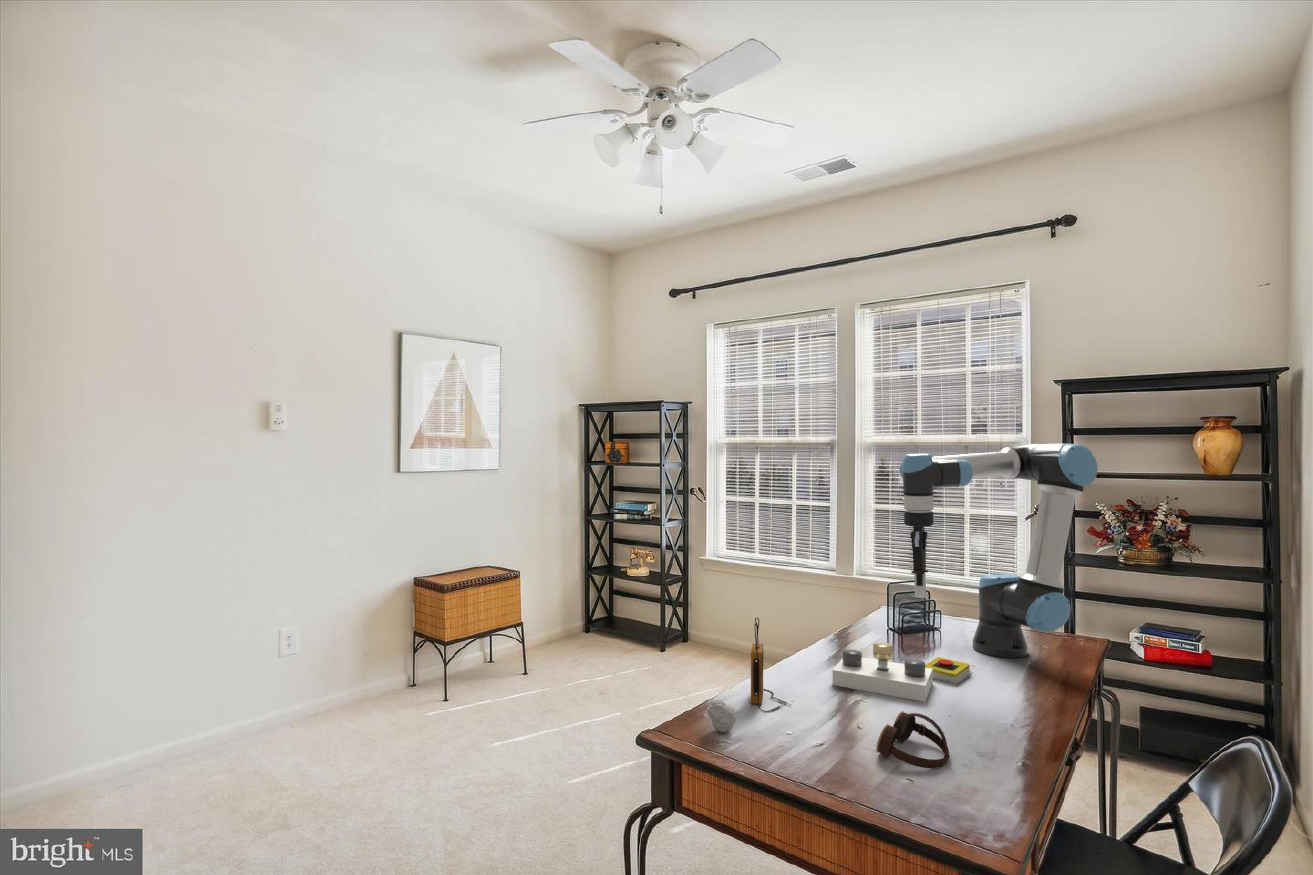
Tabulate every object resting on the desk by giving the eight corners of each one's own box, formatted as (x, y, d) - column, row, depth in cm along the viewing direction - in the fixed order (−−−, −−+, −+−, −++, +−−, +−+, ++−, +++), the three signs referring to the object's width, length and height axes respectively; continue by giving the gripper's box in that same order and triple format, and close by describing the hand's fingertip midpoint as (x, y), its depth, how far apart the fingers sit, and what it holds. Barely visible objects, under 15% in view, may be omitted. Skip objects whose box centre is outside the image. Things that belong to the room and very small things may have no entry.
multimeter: (792, 714, 161) (792, 630, 161) (749, 711, 163) (749, 627, 163) (792, 691, 176) (792, 613, 176) (753, 688, 178) (753, 611, 178)
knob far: (863, 676, 186) (863, 651, 186) (859, 682, 181) (859, 656, 181) (844, 673, 188) (845, 648, 188) (840, 679, 184) (840, 653, 184)
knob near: (926, 687, 178) (926, 661, 178) (923, 694, 174) (923, 666, 174) (906, 684, 180) (906, 657, 180) (902, 690, 176) (903, 663, 176)
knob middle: (894, 670, 182) (894, 644, 182) (890, 676, 177) (891, 649, 177) (874, 667, 184) (875, 641, 184) (871, 673, 180) (871, 646, 180)
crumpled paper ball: (701, 728, 154) (701, 697, 154) (729, 723, 156) (729, 693, 156) (713, 739, 148) (713, 707, 148) (742, 734, 151) (742, 703, 151)
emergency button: (919, 663, 186) (940, 650, 197) (919, 679, 186) (940, 665, 197) (954, 671, 180) (973, 657, 191) (954, 688, 180) (973, 673, 191)
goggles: (895, 731, 152) (905, 690, 151) (954, 762, 144) (966, 719, 143) (868, 756, 140) (879, 712, 139) (931, 791, 132) (944, 745, 131)
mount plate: (932, 683, 182) (932, 668, 181) (925, 701, 169) (925, 685, 169) (845, 668, 193) (845, 654, 193) (832, 684, 180) (832, 669, 180)
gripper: (906, 507, 193) (908, 590, 194) (900, 513, 182) (902, 601, 182) (935, 508, 190) (937, 592, 190) (931, 514, 178) (933, 604, 179)
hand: (920, 596), depth 186 cm, fingers closed
